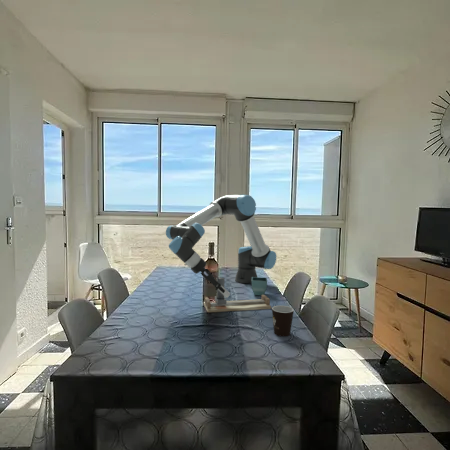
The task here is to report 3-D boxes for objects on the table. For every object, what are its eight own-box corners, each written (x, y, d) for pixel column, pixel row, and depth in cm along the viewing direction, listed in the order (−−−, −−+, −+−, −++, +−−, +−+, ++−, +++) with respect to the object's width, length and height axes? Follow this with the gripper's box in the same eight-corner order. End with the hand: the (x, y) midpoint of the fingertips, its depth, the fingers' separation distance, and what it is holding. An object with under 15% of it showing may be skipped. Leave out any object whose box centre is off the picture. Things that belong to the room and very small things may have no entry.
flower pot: (266, 292, 189) (266, 277, 188) (266, 297, 180) (267, 281, 179) (251, 291, 190) (251, 276, 189) (251, 296, 181) (251, 280, 180)
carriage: (214, 300, 163) (215, 276, 162) (223, 299, 164) (223, 276, 163) (217, 304, 156) (218, 280, 155) (226, 304, 157) (226, 279, 156)
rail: (203, 304, 165) (203, 296, 164) (263, 301, 172) (263, 293, 171) (207, 312, 153) (207, 303, 153) (271, 308, 160) (271, 300, 160)
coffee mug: (293, 338, 125) (293, 313, 124) (270, 336, 127) (271, 311, 126) (292, 327, 136) (293, 304, 135) (272, 325, 138) (272, 302, 137)
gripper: (187, 263, 168) (215, 290, 172) (193, 274, 143) (225, 305, 148) (197, 253, 169) (225, 280, 173) (205, 262, 144) (236, 293, 149)
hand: (225, 292), depth 160 cm, fingers open, 13 cm apart
